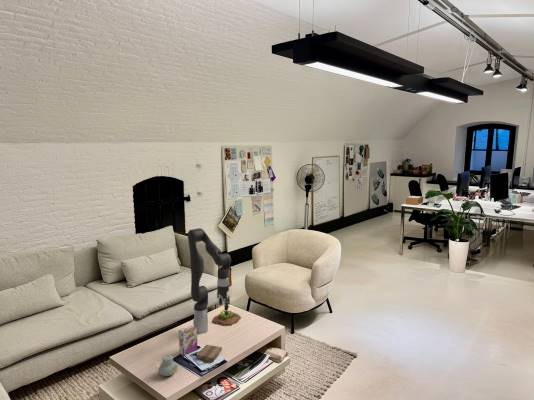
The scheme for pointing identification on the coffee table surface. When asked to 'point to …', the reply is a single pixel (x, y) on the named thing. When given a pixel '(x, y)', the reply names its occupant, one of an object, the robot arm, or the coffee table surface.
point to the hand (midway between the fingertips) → (223, 307)
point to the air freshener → (168, 366)
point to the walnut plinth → (209, 353)
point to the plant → (226, 318)
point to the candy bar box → (187, 339)
